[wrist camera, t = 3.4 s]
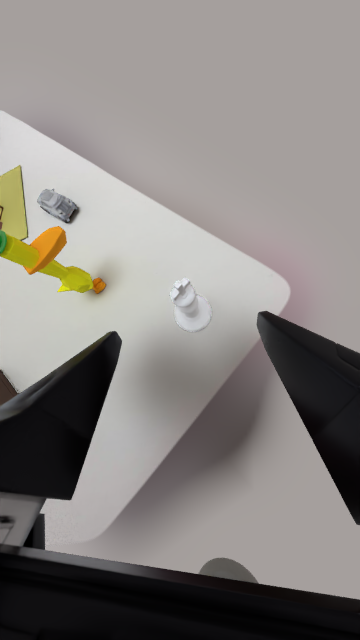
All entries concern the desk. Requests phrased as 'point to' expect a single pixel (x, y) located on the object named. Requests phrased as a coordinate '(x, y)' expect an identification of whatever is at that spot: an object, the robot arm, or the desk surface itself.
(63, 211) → the toy car
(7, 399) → the dark tray
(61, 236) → the toy figure
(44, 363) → the desk surface
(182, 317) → the chess piece
